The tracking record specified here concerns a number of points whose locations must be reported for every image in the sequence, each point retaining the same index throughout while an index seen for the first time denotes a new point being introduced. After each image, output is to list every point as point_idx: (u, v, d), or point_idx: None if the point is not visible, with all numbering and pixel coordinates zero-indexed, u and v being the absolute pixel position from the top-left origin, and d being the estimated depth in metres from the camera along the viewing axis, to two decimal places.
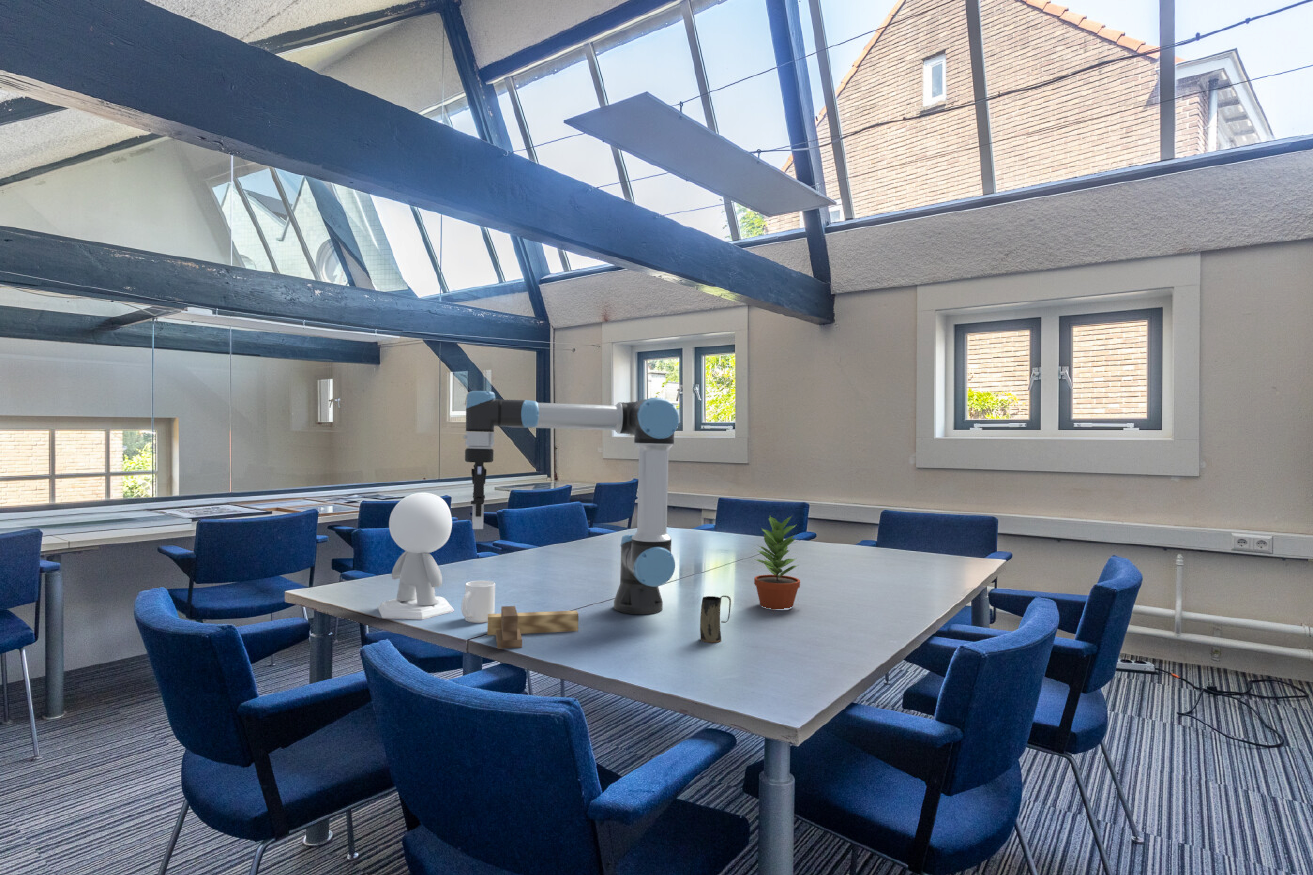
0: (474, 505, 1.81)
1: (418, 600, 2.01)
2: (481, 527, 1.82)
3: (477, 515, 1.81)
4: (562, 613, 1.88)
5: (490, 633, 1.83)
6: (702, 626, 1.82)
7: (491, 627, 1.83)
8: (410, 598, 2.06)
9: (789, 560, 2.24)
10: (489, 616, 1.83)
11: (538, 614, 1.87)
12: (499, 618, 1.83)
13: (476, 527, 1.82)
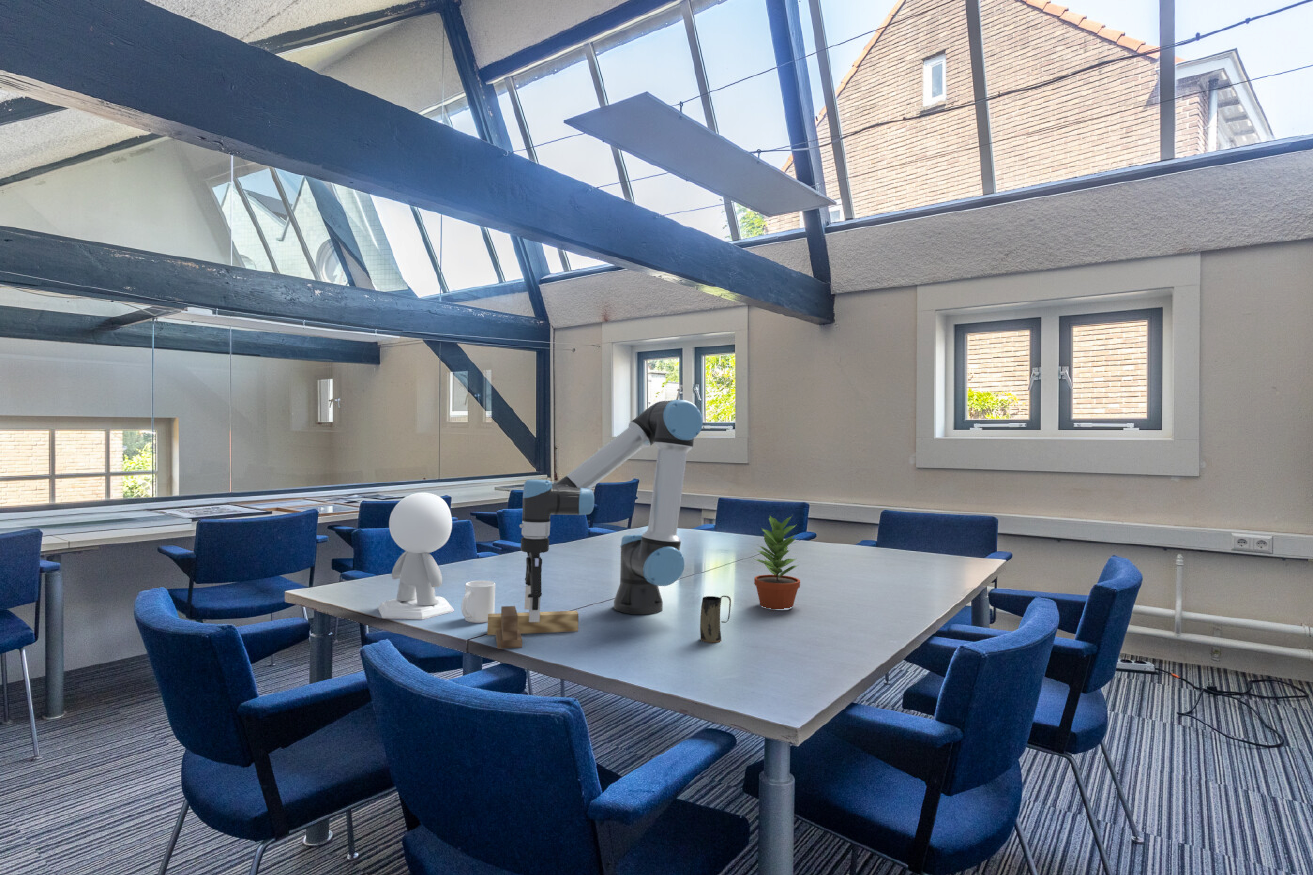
0: (531, 598, 1.80)
1: (418, 600, 2.01)
2: (537, 621, 1.80)
3: (534, 608, 1.79)
4: (562, 613, 1.88)
5: (490, 633, 1.83)
6: (702, 626, 1.82)
7: (491, 627, 1.83)
8: (410, 598, 2.06)
9: (789, 560, 2.24)
10: (489, 616, 1.84)
11: None
12: (499, 618, 1.83)
13: (532, 620, 1.80)
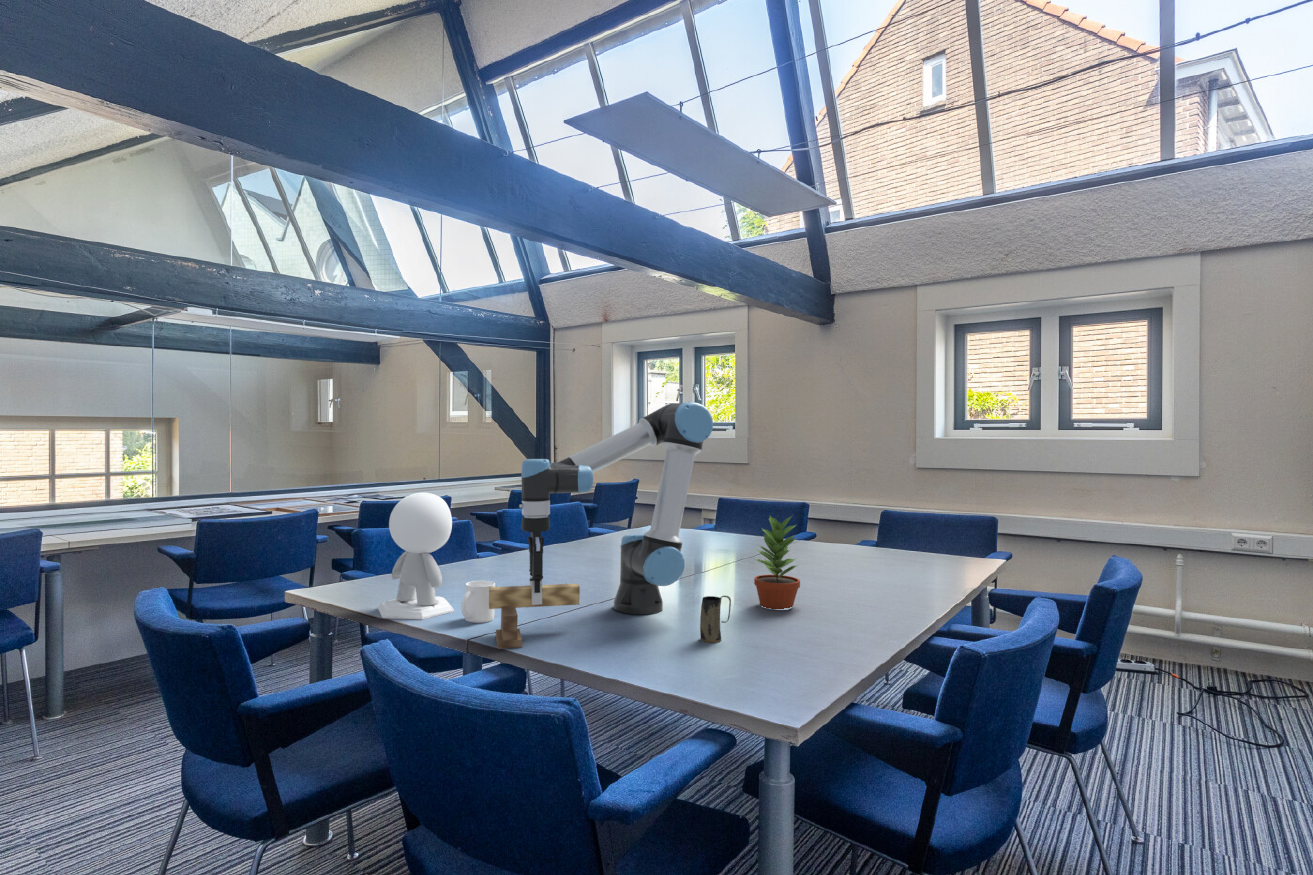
0: (533, 581, 1.85)
1: (418, 600, 2.01)
2: (540, 603, 1.85)
3: (536, 591, 1.84)
4: (563, 586, 1.88)
5: (491, 606, 1.83)
6: (702, 626, 1.82)
7: (493, 600, 1.83)
8: (410, 598, 2.06)
9: (789, 560, 2.24)
10: (490, 589, 1.83)
11: None
12: (500, 591, 1.83)
13: (535, 603, 1.85)
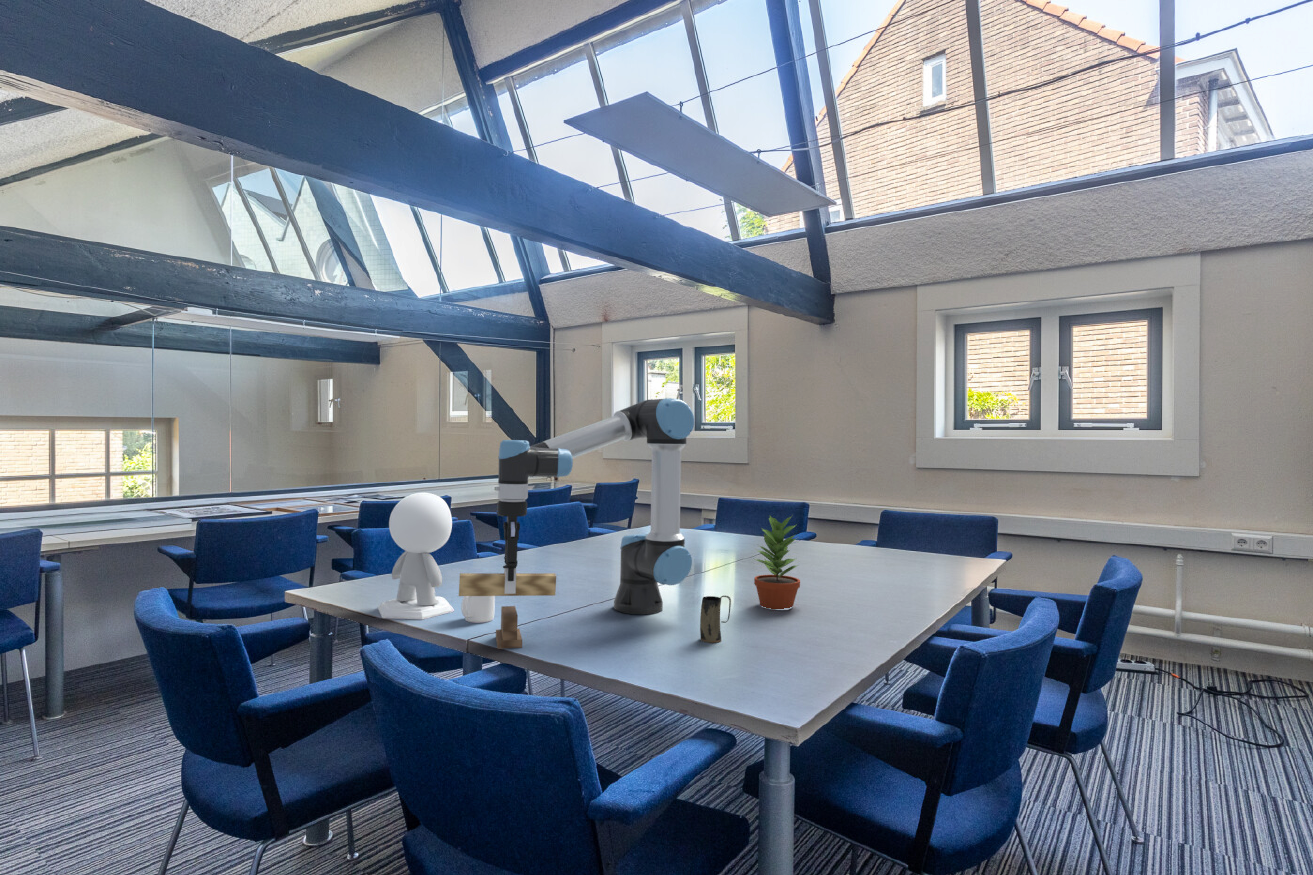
0: (506, 569, 1.74)
1: (418, 600, 2.01)
2: (513, 592, 1.75)
3: (509, 580, 1.73)
4: (539, 575, 1.78)
5: (461, 593, 1.72)
6: (702, 626, 1.82)
7: (463, 587, 1.72)
8: (410, 598, 2.06)
9: (789, 560, 2.24)
10: (461, 575, 1.73)
11: None
12: (471, 577, 1.73)
13: (508, 592, 1.74)
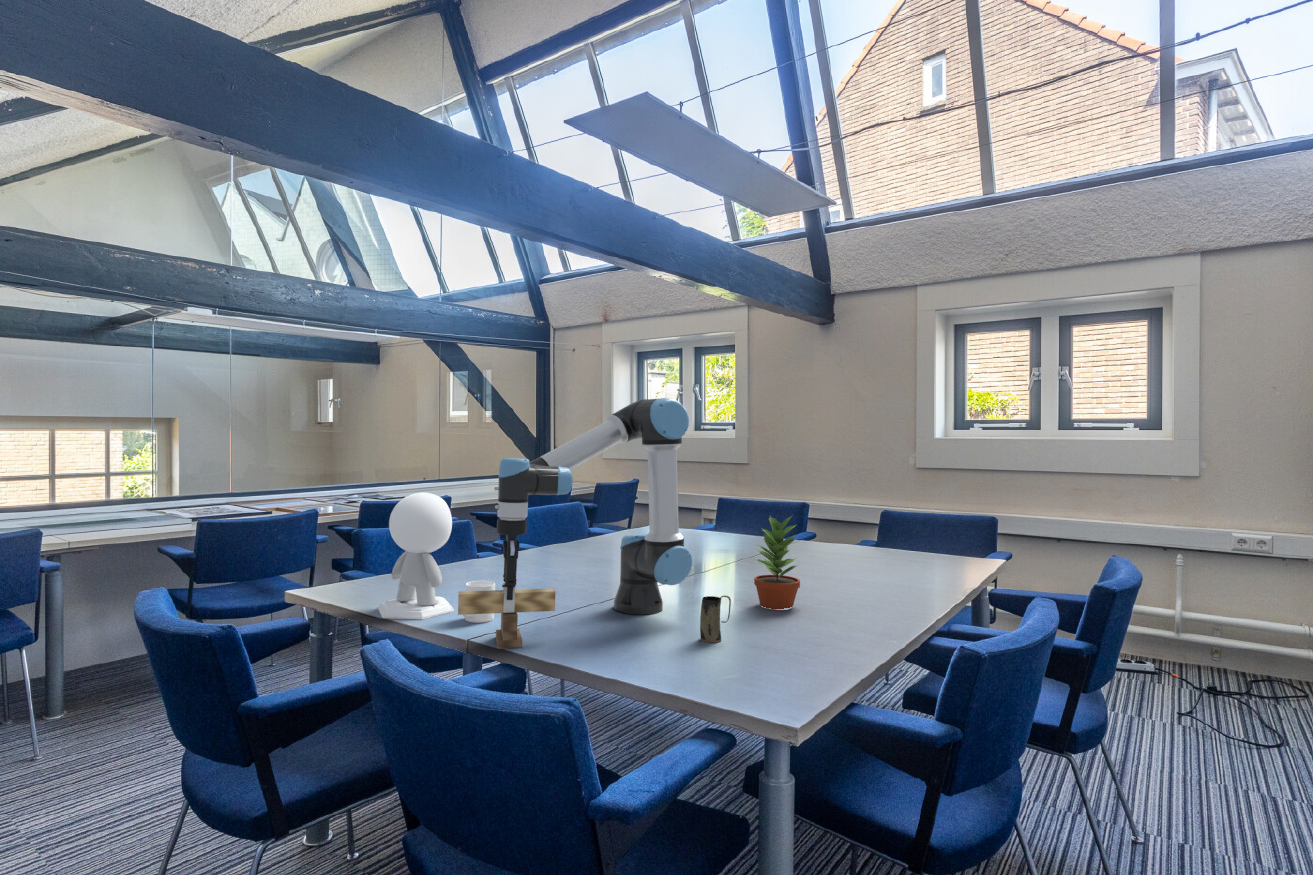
0: (505, 588, 1.74)
1: (418, 600, 2.01)
2: (512, 611, 1.74)
3: (508, 598, 1.73)
4: (538, 591, 1.78)
5: (461, 611, 1.72)
6: (702, 626, 1.82)
7: (462, 605, 1.72)
8: (410, 598, 2.06)
9: (789, 560, 2.24)
10: (460, 593, 1.73)
11: None
12: (470, 595, 1.72)
13: (507, 610, 1.74)
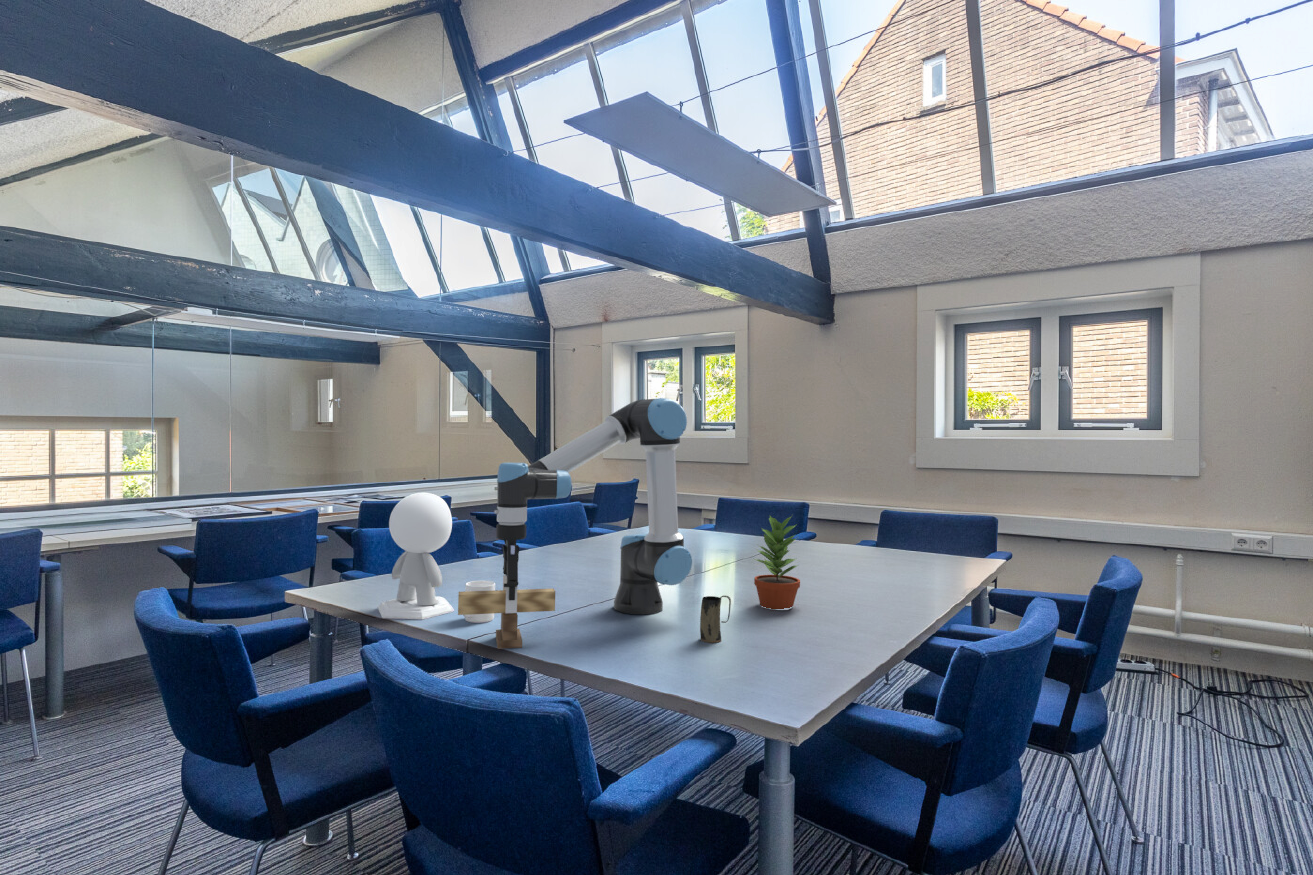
0: (507, 588, 1.69)
1: (418, 600, 2.01)
2: (515, 611, 1.70)
3: (510, 599, 1.69)
4: (538, 591, 1.78)
5: (461, 612, 1.72)
6: (702, 626, 1.82)
7: (462, 605, 1.72)
8: (410, 598, 2.06)
9: (789, 560, 2.24)
10: (460, 594, 1.73)
11: None
12: (470, 596, 1.72)
13: (509, 611, 1.70)
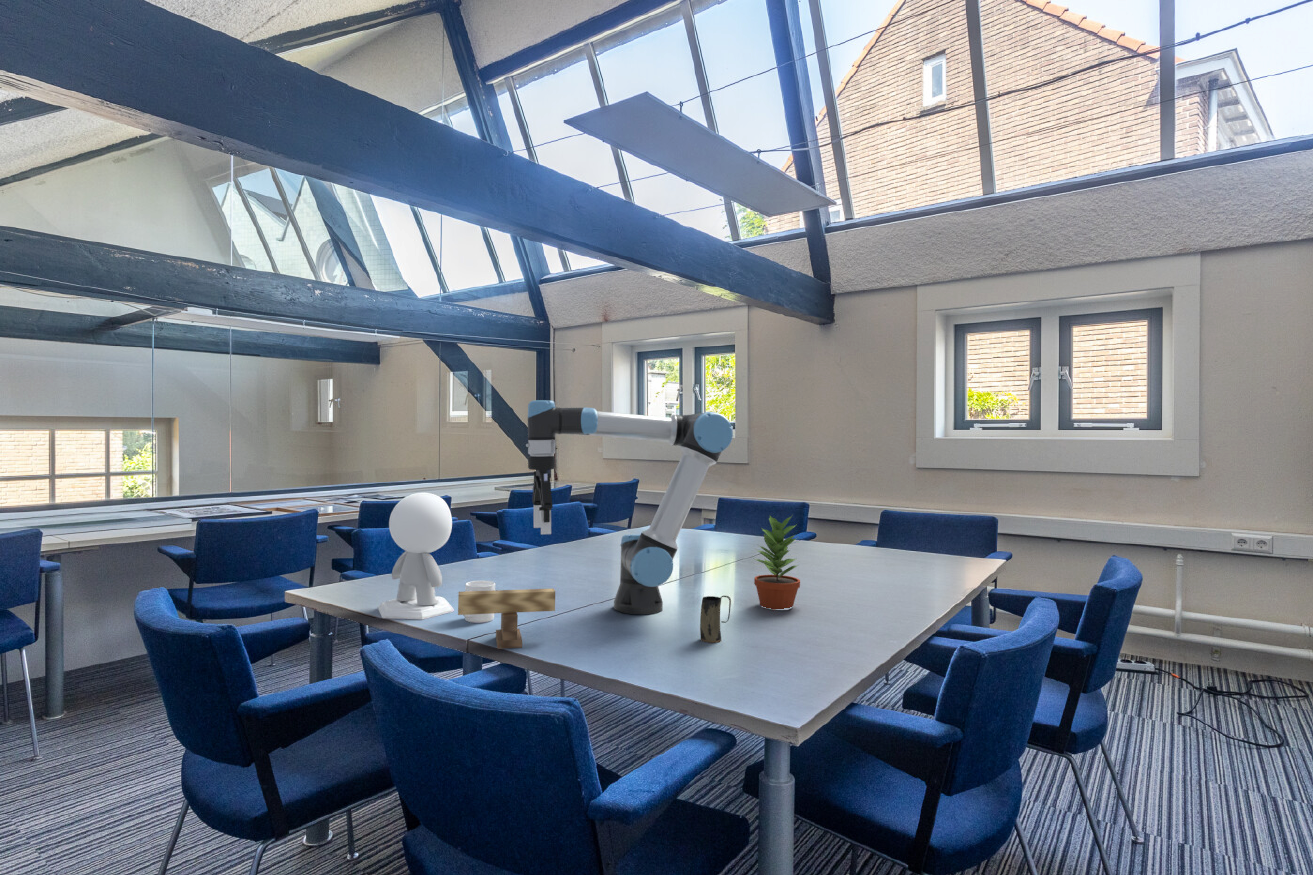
0: (542, 511, 1.87)
1: (418, 600, 2.01)
2: (549, 533, 1.88)
3: (546, 521, 1.87)
4: (538, 591, 1.78)
5: (461, 612, 1.72)
6: (702, 626, 1.82)
7: (462, 605, 1.72)
8: (410, 598, 2.06)
9: (789, 560, 2.24)
10: (460, 594, 1.73)
11: (512, 592, 1.76)
12: (470, 596, 1.72)
13: (544, 532, 1.88)
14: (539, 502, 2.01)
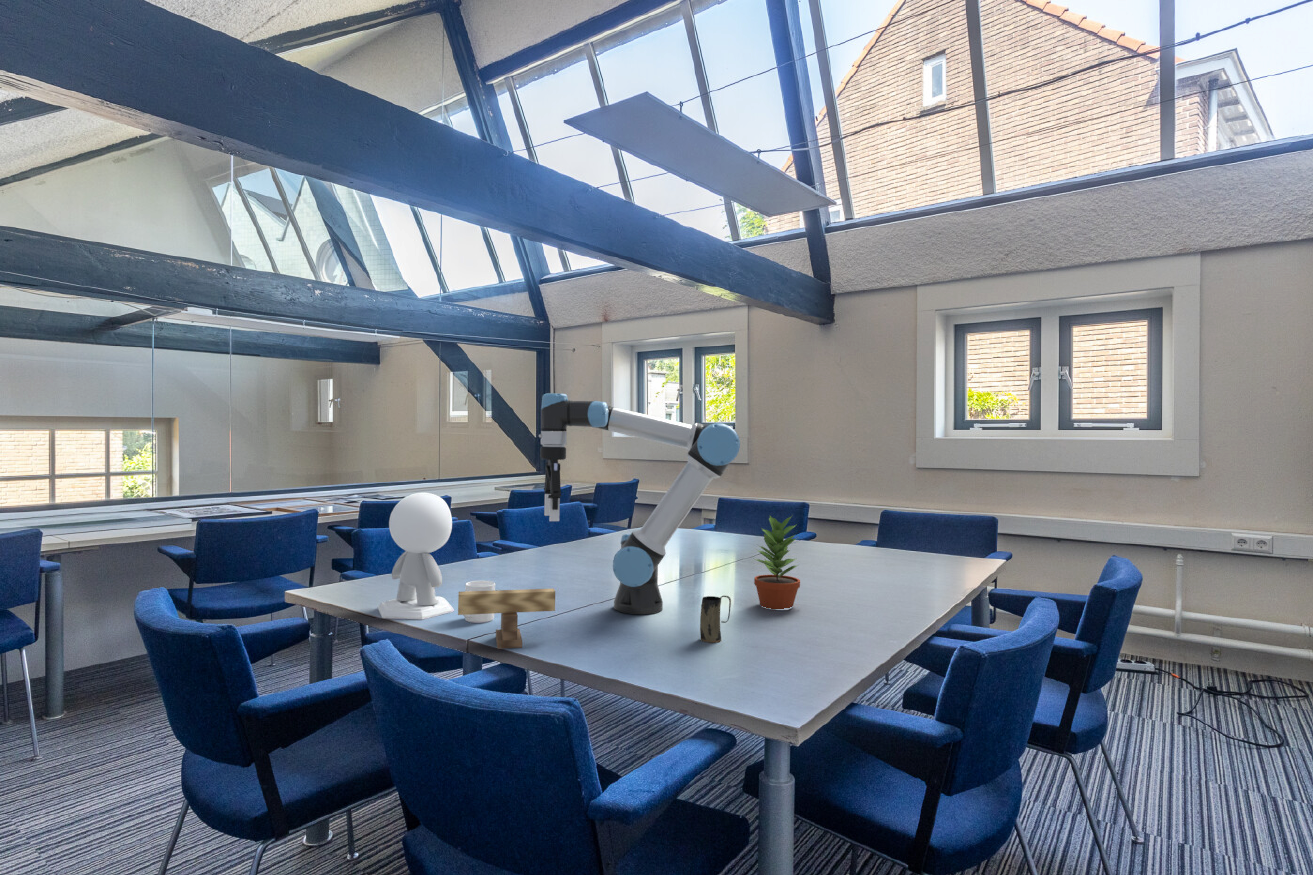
0: (551, 499, 1.96)
1: (418, 600, 2.01)
2: (557, 520, 1.96)
3: (554, 508, 1.95)
4: (538, 591, 1.78)
5: (461, 612, 1.72)
6: (702, 626, 1.82)
7: (462, 605, 1.72)
8: (410, 598, 2.06)
9: (789, 560, 2.24)
10: (460, 594, 1.73)
11: (512, 592, 1.76)
12: (470, 596, 1.72)
13: (553, 519, 1.96)
14: (550, 491, 2.10)
